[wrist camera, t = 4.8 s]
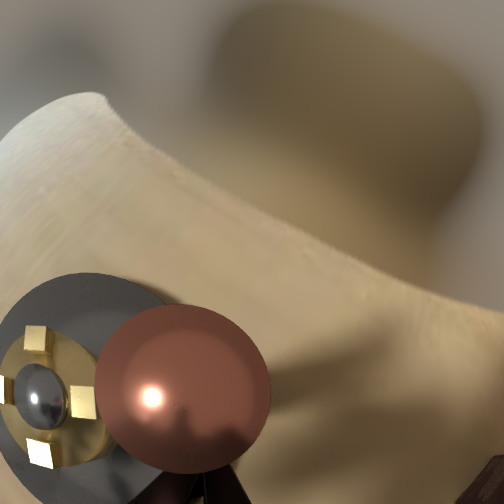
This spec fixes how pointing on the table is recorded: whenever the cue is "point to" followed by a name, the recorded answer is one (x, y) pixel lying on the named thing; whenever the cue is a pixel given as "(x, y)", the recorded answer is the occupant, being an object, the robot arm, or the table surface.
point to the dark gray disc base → (94, 339)
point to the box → (487, 485)
